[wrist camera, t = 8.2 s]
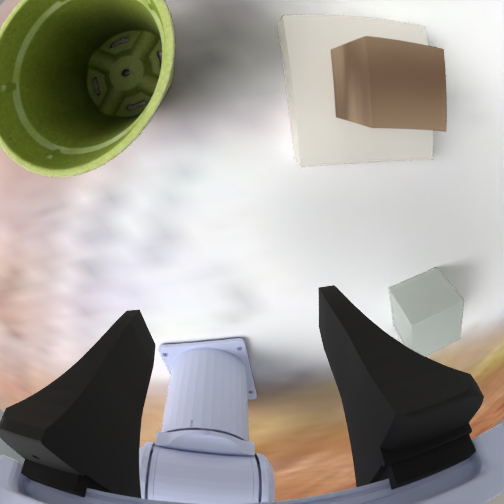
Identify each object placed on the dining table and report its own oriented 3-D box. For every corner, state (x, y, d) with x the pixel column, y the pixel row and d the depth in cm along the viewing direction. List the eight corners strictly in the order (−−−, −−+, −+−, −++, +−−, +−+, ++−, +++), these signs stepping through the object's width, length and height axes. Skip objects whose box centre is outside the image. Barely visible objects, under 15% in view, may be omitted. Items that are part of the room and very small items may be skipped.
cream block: (411, 149, 19) (432, 159, 17) (292, 156, 20) (301, 167, 17) (403, 31, 15) (425, 26, 12) (276, 26, 15) (282, 15, 13)
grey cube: (436, 305, 26) (459, 338, 22) (393, 325, 27) (412, 362, 23) (435, 266, 24) (464, 299, 20) (387, 287, 25) (411, 325, 20)
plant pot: (181, -13, 13) (144, -73, 6) (220, 114, 18) (204, 127, 10) (56, 46, 14) (-28, 40, 6) (92, 161, 18) (18, 207, 11)
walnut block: (397, 118, 15) (446, 131, 11) (335, 117, 16) (371, 128, 11) (394, 54, 14) (443, 49, 9) (330, 49, 14) (365, 35, 9)
